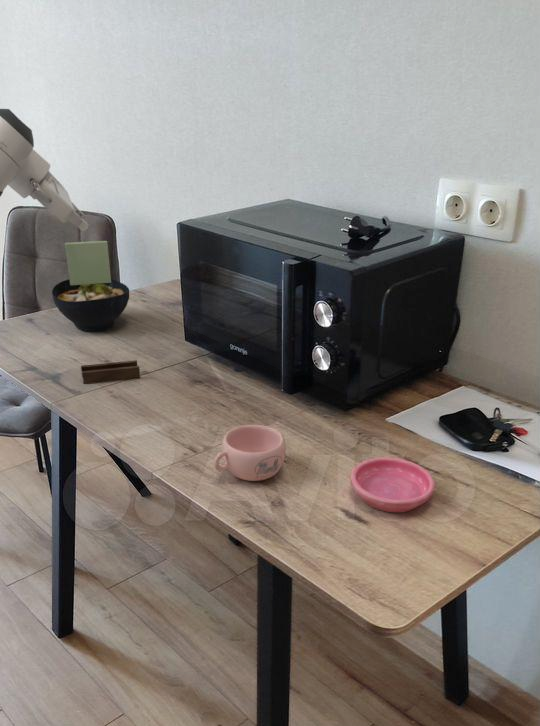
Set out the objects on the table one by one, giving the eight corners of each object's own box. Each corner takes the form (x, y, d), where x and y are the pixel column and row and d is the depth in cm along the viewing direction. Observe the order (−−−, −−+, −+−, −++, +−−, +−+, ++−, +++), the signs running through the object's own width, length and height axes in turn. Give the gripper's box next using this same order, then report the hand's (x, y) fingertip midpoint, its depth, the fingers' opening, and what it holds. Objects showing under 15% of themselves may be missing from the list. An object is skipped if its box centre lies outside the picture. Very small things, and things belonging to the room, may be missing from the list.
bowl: (74, 344, 154) (68, 300, 148) (45, 321, 165) (39, 279, 160) (144, 329, 162) (141, 287, 157) (112, 308, 174) (108, 268, 168)
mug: (263, 449, 117) (264, 418, 114) (297, 477, 110) (298, 444, 107) (199, 468, 112) (198, 435, 109) (230, 498, 105) (230, 464, 102)
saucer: (449, 505, 105) (452, 487, 103) (382, 528, 99) (385, 510, 98) (397, 466, 114) (399, 449, 112) (333, 485, 108) (334, 468, 107)
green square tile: (70, 285, 157) (65, 244, 152) (70, 283, 158) (64, 242, 153) (111, 282, 159) (107, 242, 154) (110, 281, 160) (106, 240, 155)
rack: (83, 384, 137) (82, 372, 136) (82, 376, 140) (80, 365, 139) (140, 378, 140) (139, 367, 139) (137, 371, 143) (136, 360, 141)
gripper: (42, 172, 135) (99, 223, 143) (37, 156, 151) (89, 202, 159) (21, 197, 136) (79, 246, 144) (19, 178, 152) (71, 223, 160)
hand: (84, 223), depth 152 cm, fingers open, 8 cm apart
